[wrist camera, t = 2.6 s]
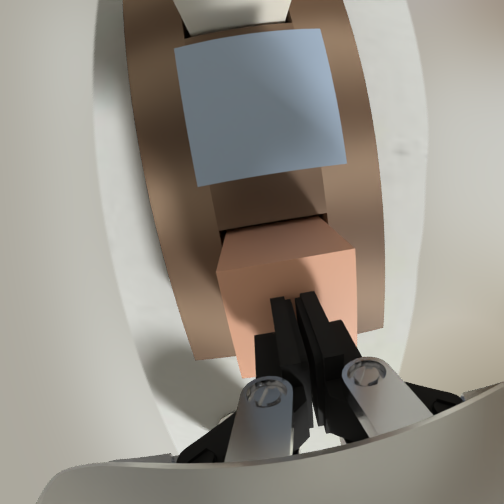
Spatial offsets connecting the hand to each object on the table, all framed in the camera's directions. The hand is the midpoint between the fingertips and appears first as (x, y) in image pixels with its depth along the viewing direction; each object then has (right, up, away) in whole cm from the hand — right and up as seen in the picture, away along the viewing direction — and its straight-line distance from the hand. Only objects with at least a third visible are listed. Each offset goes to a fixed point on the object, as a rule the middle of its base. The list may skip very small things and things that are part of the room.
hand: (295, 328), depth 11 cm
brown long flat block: (-2, +11, +7) cm, 13 cm away
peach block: (0, +2, +6) cm, 6 cm away
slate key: (-1, +10, +3) cm, 10 cm away
